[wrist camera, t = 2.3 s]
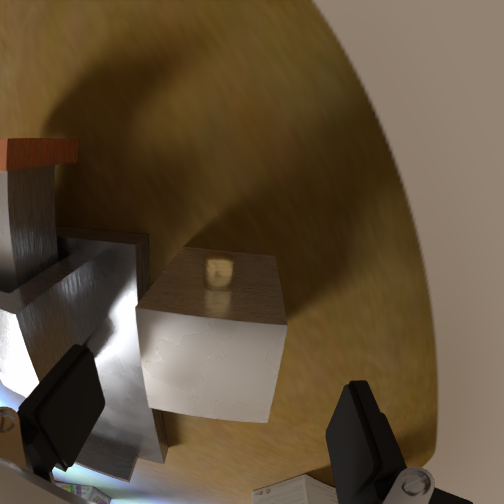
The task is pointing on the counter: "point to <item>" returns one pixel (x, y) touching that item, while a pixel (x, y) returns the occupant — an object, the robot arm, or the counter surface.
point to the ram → (28, 213)
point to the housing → (213, 335)
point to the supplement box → (296, 492)
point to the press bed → (90, 339)
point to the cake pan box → (86, 492)
